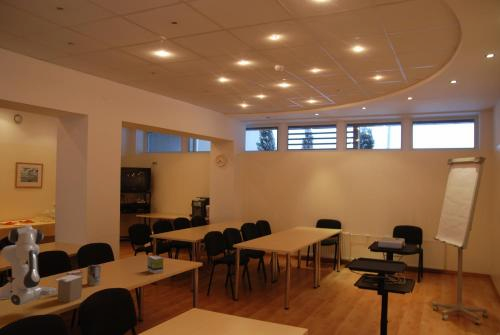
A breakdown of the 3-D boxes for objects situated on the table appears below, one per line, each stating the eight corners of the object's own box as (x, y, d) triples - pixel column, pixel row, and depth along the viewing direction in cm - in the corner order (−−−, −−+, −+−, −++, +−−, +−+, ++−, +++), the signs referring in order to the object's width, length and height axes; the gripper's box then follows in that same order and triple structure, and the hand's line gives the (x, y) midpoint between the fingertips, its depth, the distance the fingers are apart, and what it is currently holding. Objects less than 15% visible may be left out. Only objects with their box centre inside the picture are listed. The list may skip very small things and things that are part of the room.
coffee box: (100, 284, 335) (100, 265, 335) (95, 286, 329) (95, 267, 329) (92, 282, 338) (92, 264, 338) (86, 284, 332) (87, 266, 333)
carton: (69, 302, 284) (70, 280, 285) (57, 301, 287) (58, 279, 288) (81, 297, 296) (81, 276, 296) (69, 296, 299) (69, 275, 299)
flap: (67, 282, 282) (67, 281, 282) (54, 280, 284) (54, 279, 284) (81, 276, 296) (81, 276, 296) (69, 275, 299) (69, 274, 299)
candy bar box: (68, 294, 304) (69, 273, 304) (65, 293, 307) (66, 272, 308) (82, 291, 313) (82, 271, 313) (79, 290, 316) (79, 270, 316)
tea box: (146, 271, 384) (147, 256, 385) (156, 269, 391) (156, 255, 391) (154, 274, 373) (154, 258, 373) (163, 272, 380) (163, 257, 380)
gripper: (47, 289, 258) (63, 284, 271) (23, 286, 263) (39, 281, 277) (47, 299, 258) (62, 293, 271) (22, 296, 263) (39, 290, 276)
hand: (50, 287), depth 274 cm, fingers closed
